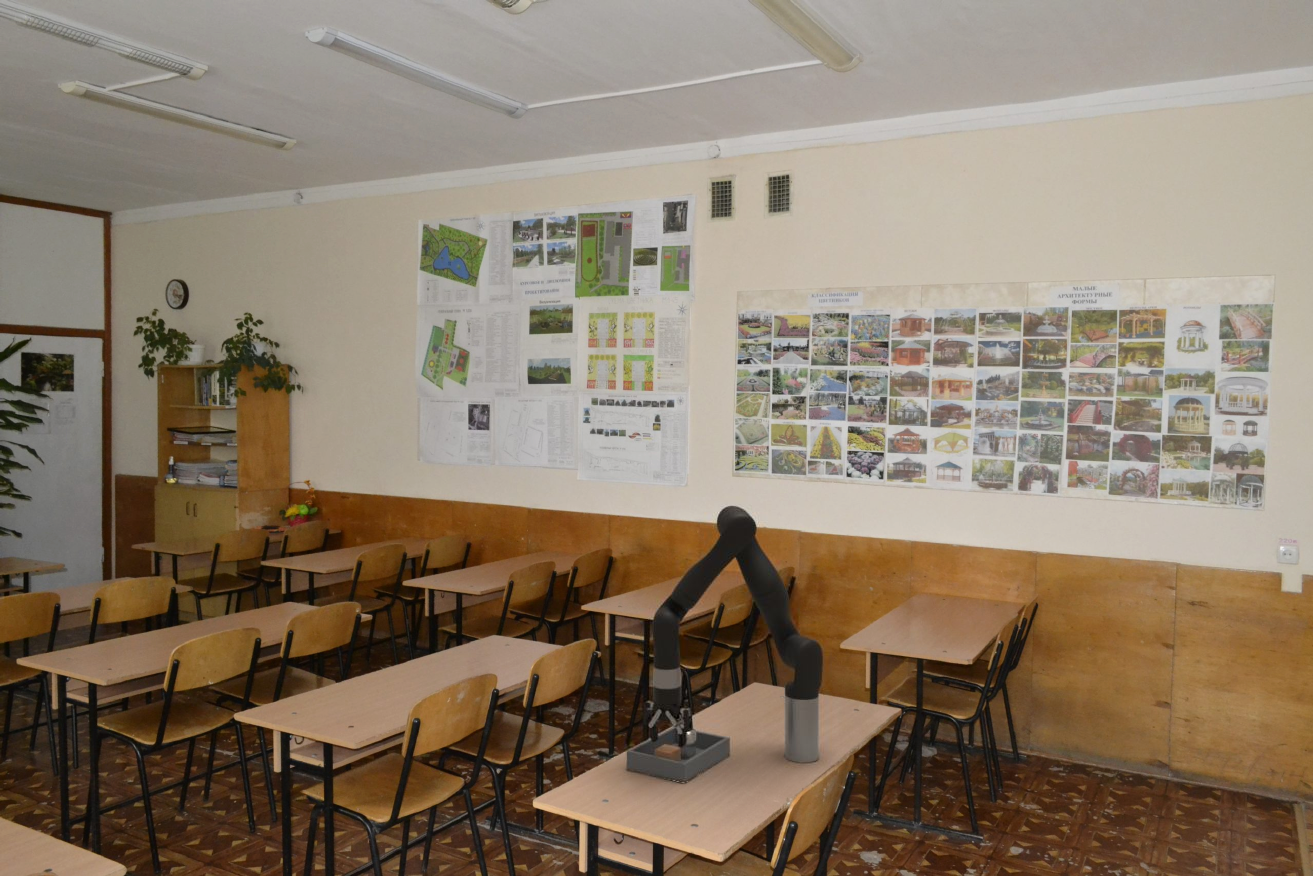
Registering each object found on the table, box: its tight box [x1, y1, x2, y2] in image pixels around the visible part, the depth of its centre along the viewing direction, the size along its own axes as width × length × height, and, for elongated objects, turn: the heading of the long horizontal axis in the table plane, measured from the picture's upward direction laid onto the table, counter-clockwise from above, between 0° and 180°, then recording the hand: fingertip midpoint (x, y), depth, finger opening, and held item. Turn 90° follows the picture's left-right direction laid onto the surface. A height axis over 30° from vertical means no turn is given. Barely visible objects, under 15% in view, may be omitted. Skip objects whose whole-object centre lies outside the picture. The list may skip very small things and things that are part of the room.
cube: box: [655, 744, 681, 762], centre depth 251 cm, size 5×5×5 cm
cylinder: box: [678, 728, 697, 759], centre depth 259 cm, size 5×5×7 cm
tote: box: [626, 726, 731, 784], centre depth 256 cm, size 24×18×5 cm
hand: (667, 743), depth 251 cm, fingers open, 8 cm apart
